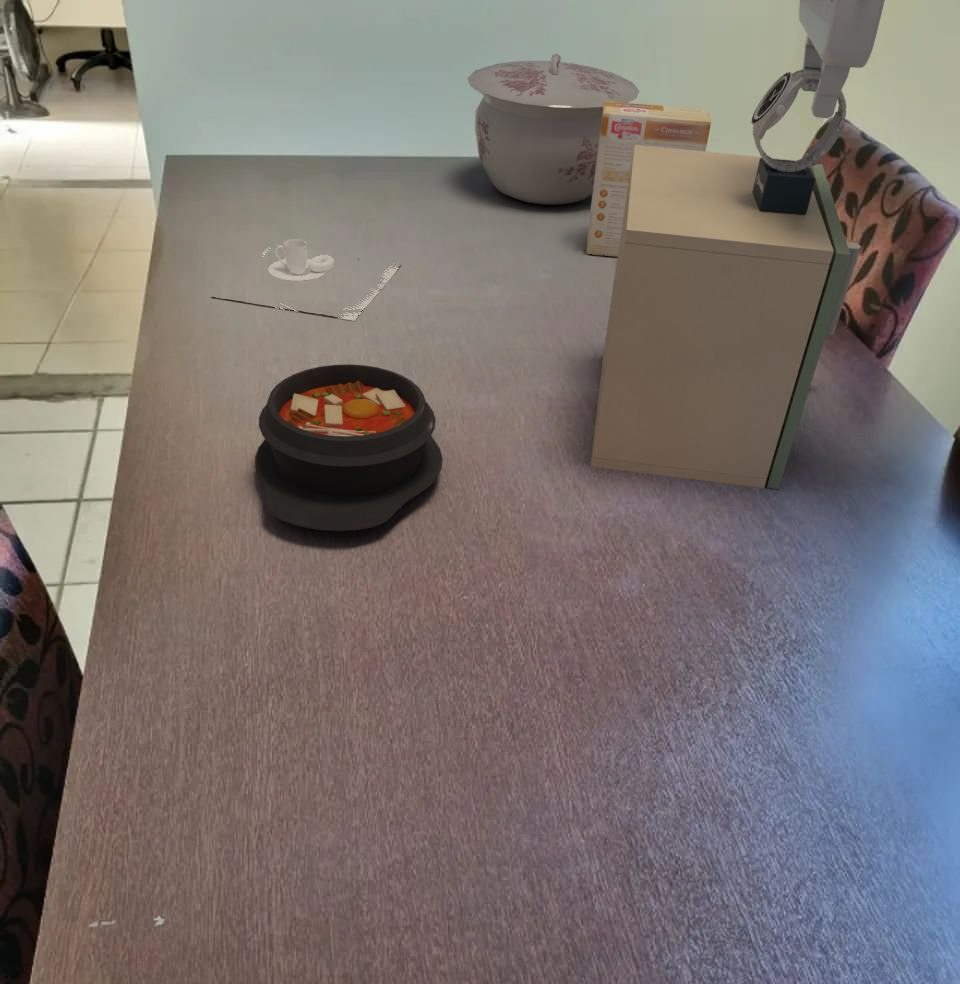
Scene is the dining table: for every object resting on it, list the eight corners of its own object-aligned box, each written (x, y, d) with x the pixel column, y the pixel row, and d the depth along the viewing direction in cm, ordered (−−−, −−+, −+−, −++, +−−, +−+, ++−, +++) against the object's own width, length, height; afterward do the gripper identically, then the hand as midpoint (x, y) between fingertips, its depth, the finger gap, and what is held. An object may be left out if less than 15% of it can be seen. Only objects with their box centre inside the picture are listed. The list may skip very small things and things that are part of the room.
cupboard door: (814, 379, 119) (879, 170, 103) (836, 497, 100) (920, 262, 83) (756, 372, 120) (811, 163, 103) (766, 488, 100) (836, 252, 84)
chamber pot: (514, 229, 152) (526, 80, 138) (435, 176, 169) (438, 39, 155) (658, 208, 163) (682, 68, 149) (570, 160, 180) (583, 31, 166)
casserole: (419, 559, 88) (420, 480, 83) (220, 534, 90) (208, 455, 84) (459, 423, 107) (462, 351, 101) (293, 404, 108) (287, 332, 102)
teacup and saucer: (340, 267, 137) (338, 238, 134) (319, 288, 131) (317, 258, 129) (282, 258, 139) (279, 229, 136) (259, 279, 133) (255, 249, 130)
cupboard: (748, 372, 120) (803, 160, 103) (764, 489, 100) (834, 250, 84) (603, 356, 121) (634, 144, 105) (590, 467, 102) (626, 229, 85)
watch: (732, 190, 95) (759, 61, 87) (815, 197, 94) (849, 68, 87) (738, 209, 90) (767, 75, 83) (825, 216, 90) (862, 82, 83)
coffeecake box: (682, 247, 150) (709, 107, 137) (685, 264, 145) (713, 121, 132) (586, 238, 151) (603, 98, 138) (585, 255, 146) (603, 111, 133)
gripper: (926, -69, 71) (867, 136, 80) (880, -96, 86) (835, 79, 96) (839, -75, 72) (790, 130, 81) (808, -101, 87) (770, 74, 96)
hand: (814, 102), depth 88 cm, fingers open, 8 cm apart
